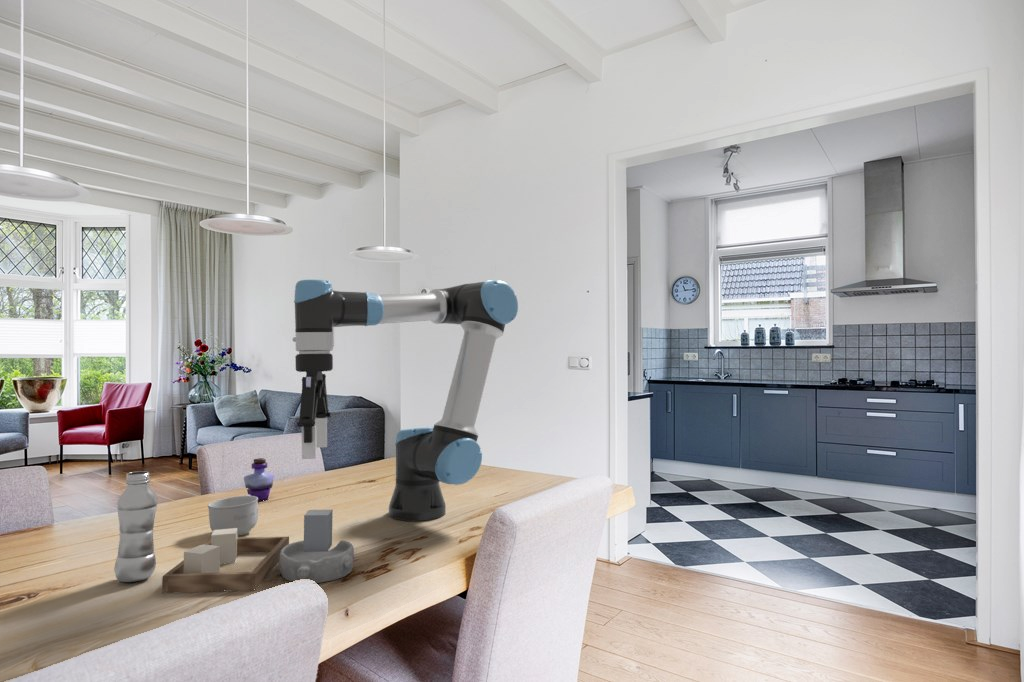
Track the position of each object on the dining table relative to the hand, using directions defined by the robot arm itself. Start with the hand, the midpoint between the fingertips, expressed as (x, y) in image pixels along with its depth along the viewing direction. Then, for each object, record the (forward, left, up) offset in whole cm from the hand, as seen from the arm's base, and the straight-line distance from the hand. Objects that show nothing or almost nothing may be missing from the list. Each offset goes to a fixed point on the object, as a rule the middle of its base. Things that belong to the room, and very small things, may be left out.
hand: (315, 452), depth 126 cm
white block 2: (+18, +1, -22) cm, 28 cm away
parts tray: (+14, +7, -22) cm, 27 cm away
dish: (-3, +10, -22) cm, 24 cm away
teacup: (+22, -19, -22) cm, 37 cm away
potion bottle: (+27, -51, -22) cm, 62 cm away
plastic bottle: (+30, +11, -22) cm, 39 cm away
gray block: (-3, +10, -17) cm, 20 cm away
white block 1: (+18, +12, -22) cm, 31 cm away
